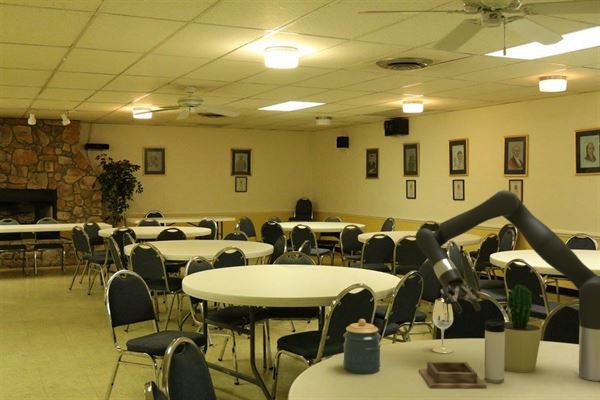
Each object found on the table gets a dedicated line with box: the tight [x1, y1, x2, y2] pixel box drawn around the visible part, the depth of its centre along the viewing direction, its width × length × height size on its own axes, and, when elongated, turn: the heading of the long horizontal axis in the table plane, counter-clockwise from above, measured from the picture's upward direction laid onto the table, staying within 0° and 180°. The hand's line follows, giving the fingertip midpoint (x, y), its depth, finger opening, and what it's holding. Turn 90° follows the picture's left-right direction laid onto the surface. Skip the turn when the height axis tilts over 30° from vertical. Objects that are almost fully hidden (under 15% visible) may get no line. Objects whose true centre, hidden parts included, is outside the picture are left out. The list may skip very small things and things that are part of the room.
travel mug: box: [483, 318, 506, 384], centre depth 210 cm, size 6×7×20 cm
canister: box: [342, 318, 381, 375], centre depth 221 cm, size 13×13×18 cm
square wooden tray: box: [418, 361, 488, 389], centre depth 210 cm, size 18×18×4 cm
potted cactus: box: [504, 283, 543, 373], centre depth 225 cm, size 15×15×30 cm
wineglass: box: [432, 298, 454, 354], centre depth 247 cm, size 8×8×20 cm
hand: (469, 311), depth 220 cm, fingers open, 8 cm apart
